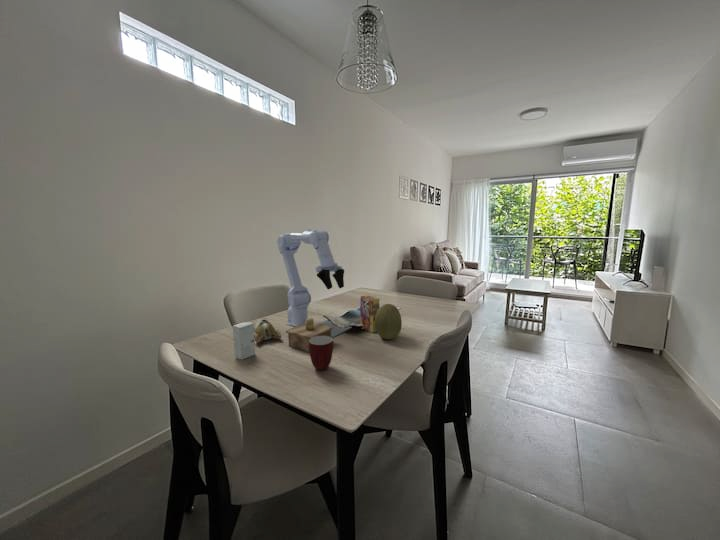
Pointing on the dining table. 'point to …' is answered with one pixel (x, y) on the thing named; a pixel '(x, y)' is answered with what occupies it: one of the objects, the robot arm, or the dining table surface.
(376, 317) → the fruit
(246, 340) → the skincare box
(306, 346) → the box
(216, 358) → the dining table surface
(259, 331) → the ceramic sculpture
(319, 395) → the dining table surface
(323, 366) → the mug
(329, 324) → the mat
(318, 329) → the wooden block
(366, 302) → the candy box
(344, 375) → the dining table surface
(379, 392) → the dining table surface
